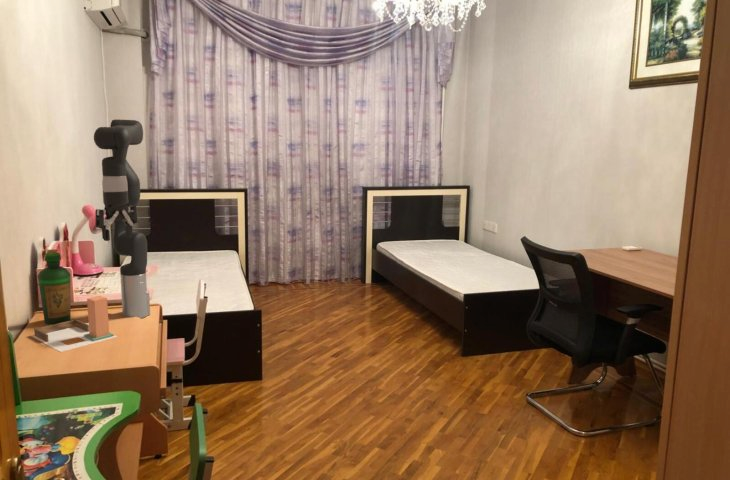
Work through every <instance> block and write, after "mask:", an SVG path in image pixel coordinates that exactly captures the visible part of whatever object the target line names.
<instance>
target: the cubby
mask: <svg viewBox="0 0 730 480" xmlns="http://www.w3.org/2000/svg"><path fill="white" fill-rule="evenodd" d="M85 323H86V322H83V321H81V320H79V319H72V320H70V321H67V322H62V323H58V324H54V325H49V324H48V325H46V326H41V327H37V328H34V329H33V331H34V335H35V336H36V337H38V338H40V339H42V340H44V341H46V342H49V341H48V334H46V333H50V332H54V331H59V330H63V329H67V328H71V327H75V326H76V327H78V328H80V329H82V330H84V331H87V332H89V325H88V324H89V323H88V324H85Z"/></svg>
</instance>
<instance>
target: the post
mask: <svg viewBox="0 0 730 480" xmlns="http://www.w3.org/2000/svg"><path fill="white" fill-rule="evenodd" d="M86 301H87V302H86V304H87V316H88V317H87V318H88V324H89V335H91V336H93V337H96V338H98V337H101V336H105V335H108V334H109V332H110V326H109V310H108V309H109V308H108V297H105V296H102V295H97V296H91V297H88V298H86Z"/></svg>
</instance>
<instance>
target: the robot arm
mask: <svg viewBox="0 0 730 480" xmlns="http://www.w3.org/2000/svg"><path fill="white" fill-rule="evenodd" d="M143 140H144V129H143V125H142V123H141V122H140V121H139V120H136V119H135V120H134V119H117V118H116V119H112V120H111V122H110V125H109V126H100V127H97V128H96V130H95V131H94V134H93V141H94V144H95V146H96V147H97V148H98V149H101V150H111V153H112V156H107V157H104V158H103V159H102V160H101V168H102V169H101V171H102V182H101V183H102V184H101V186H102V201H103V204H104V208H102V209H100V208H96V209H95V211H94V213H95V214H94V215H95V216H94V217H95V220H94V221H95V227H96V228H98V229H101V235H102V236H101V237H102V240H103V241H105V242H110V240H111V236H110V227H111V226H112V224H114V227H113V228H114V229H113V248H114V252H115V253H116V254H117V255H119V256H125V257H130V262H129V263H126V264H123V265H121V266H120V268H119V271H120V272H119V274H120V289H121V290H120V292H121V293H120V294H121V309H122V310H121V311H122V312H121V314H122V316H124V317H128V318H139V319H142V318H147V317H148V316H151V303H150V299H151V298H150V291H149V290H148V287H147V286H148V285H147V266H148V240H147V237H146V235H145V234H144V233H142V232H137V231H136V232H135V231H133V227H134V226H133V225H135V224H137V223H138V222H139V221H138V213H137V206H138V204H139V202H140V198H141V182H140V177H139V176H138V174H137V173H136V172H135V170H134V169H133V167H132V166H131V165H130V163H129V162H128V160H127V154H128V151H129V146H138V145H140V144H141V143H142V141H143Z"/></svg>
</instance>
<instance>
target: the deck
mask: <svg viewBox="0 0 730 480" xmlns="http://www.w3.org/2000/svg"><path fill="white" fill-rule="evenodd" d="M84 323H85V324H88V325H89V322H84ZM46 334H48V341H49V342H46V341H44V340H42V339H40V338H38V337H36V336H35V334H34V335H31V337H32V338H33V339H36V340H37V341H40V342H41V343H44V344H46V345H47V346H49V347H50V348H52V349H54V350H56V351H58V352H60V353H62V352H66V351H70V350H73V349H77V348H81V347H85V346H88V345H93V344H97V343H99V342H104V341H107V340H110V339H111V340H112V339H115V338H118V336H117V335H116V334H114V336H112V337H108V338H105V339H101V340H97V341H92V340H90V339H88V338H86V337H84V335H85V334H89V332H87V331H84V330H82V329H80V328H78V327H76V326H75V327H71V328H67V329H63V330H59V331H54V332H50V333H46ZM75 338H80V339H82V340H83V341H79V342H76V343H72V344H66V343H64V342H62V341H66V340H70V339H75Z"/></svg>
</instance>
